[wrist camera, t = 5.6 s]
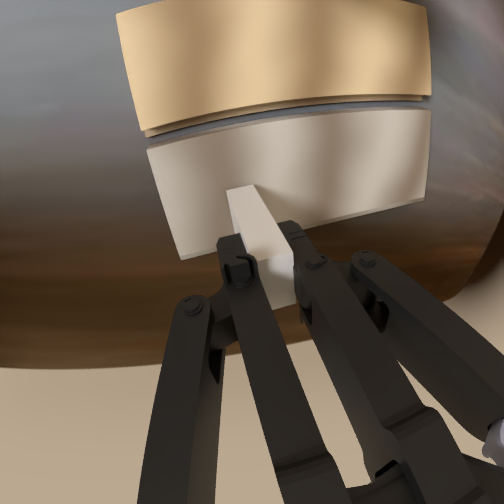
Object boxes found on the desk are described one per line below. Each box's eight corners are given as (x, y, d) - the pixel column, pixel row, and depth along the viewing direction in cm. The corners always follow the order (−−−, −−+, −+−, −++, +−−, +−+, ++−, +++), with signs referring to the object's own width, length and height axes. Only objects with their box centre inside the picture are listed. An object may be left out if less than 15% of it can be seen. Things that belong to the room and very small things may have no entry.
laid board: (146, 136, 15) (144, 141, 14) (120, 18, 10) (115, 14, 9) (419, 99, 16) (431, 103, 15) (413, 7, 12) (425, 6, 11)
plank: (180, 249, 19) (181, 260, 18) (148, 145, 15) (146, 150, 14) (414, 193, 21) (423, 200, 20) (419, 106, 17) (431, 110, 16)
